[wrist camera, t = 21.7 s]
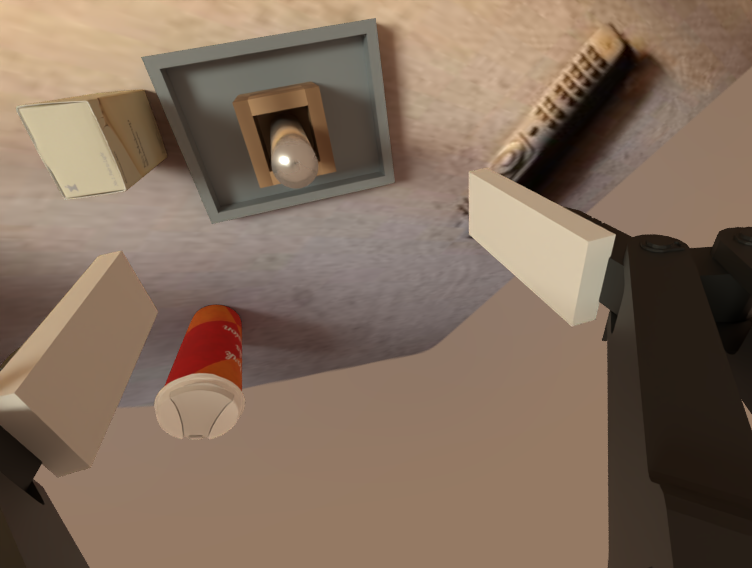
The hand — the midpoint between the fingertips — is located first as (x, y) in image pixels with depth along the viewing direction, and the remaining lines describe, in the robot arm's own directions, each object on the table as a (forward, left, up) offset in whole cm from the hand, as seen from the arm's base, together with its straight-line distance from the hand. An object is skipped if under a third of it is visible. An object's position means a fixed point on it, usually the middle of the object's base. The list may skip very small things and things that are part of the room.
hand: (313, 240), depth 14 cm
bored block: (0, 0, -28) cm, 28 cm away
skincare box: (-14, +2, -29) cm, 32 cm away
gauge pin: (0, 0, -26) cm, 26 cm away
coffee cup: (-15, -22, -29) cm, 39 cm away
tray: (0, 0, -29) cm, 29 cm away
